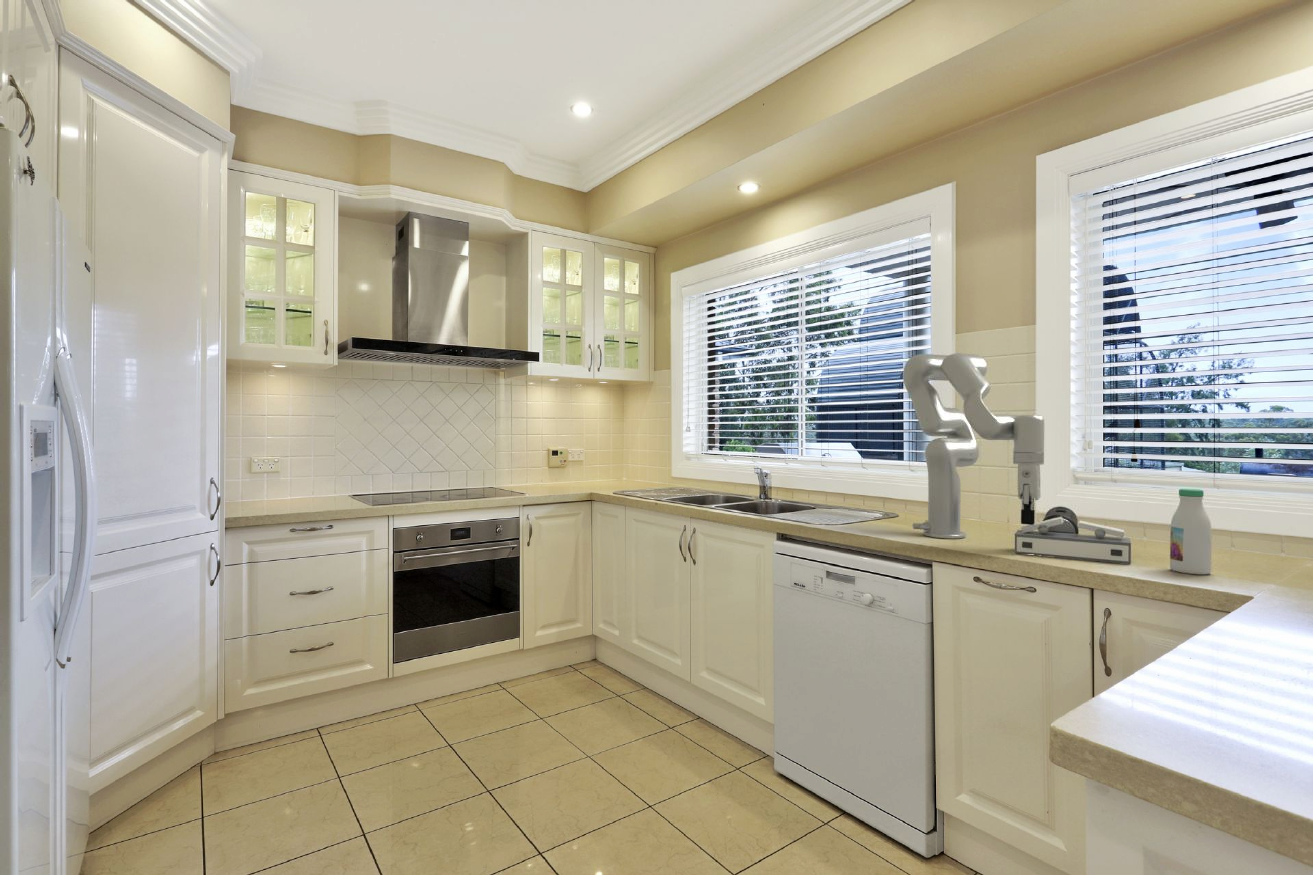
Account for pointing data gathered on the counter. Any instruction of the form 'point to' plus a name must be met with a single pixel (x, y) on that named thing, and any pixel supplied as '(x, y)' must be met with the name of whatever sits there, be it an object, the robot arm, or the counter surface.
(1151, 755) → the counter surface
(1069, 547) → the switch box
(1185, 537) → the milk bottle
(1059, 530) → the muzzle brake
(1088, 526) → the switch
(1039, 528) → the switch
